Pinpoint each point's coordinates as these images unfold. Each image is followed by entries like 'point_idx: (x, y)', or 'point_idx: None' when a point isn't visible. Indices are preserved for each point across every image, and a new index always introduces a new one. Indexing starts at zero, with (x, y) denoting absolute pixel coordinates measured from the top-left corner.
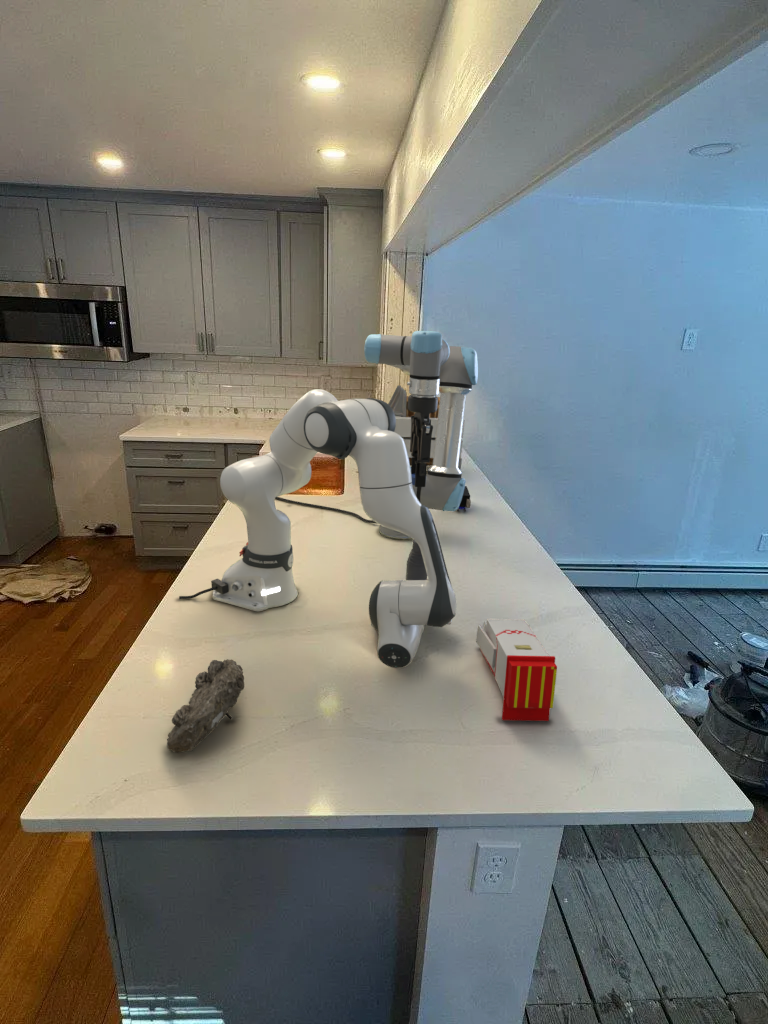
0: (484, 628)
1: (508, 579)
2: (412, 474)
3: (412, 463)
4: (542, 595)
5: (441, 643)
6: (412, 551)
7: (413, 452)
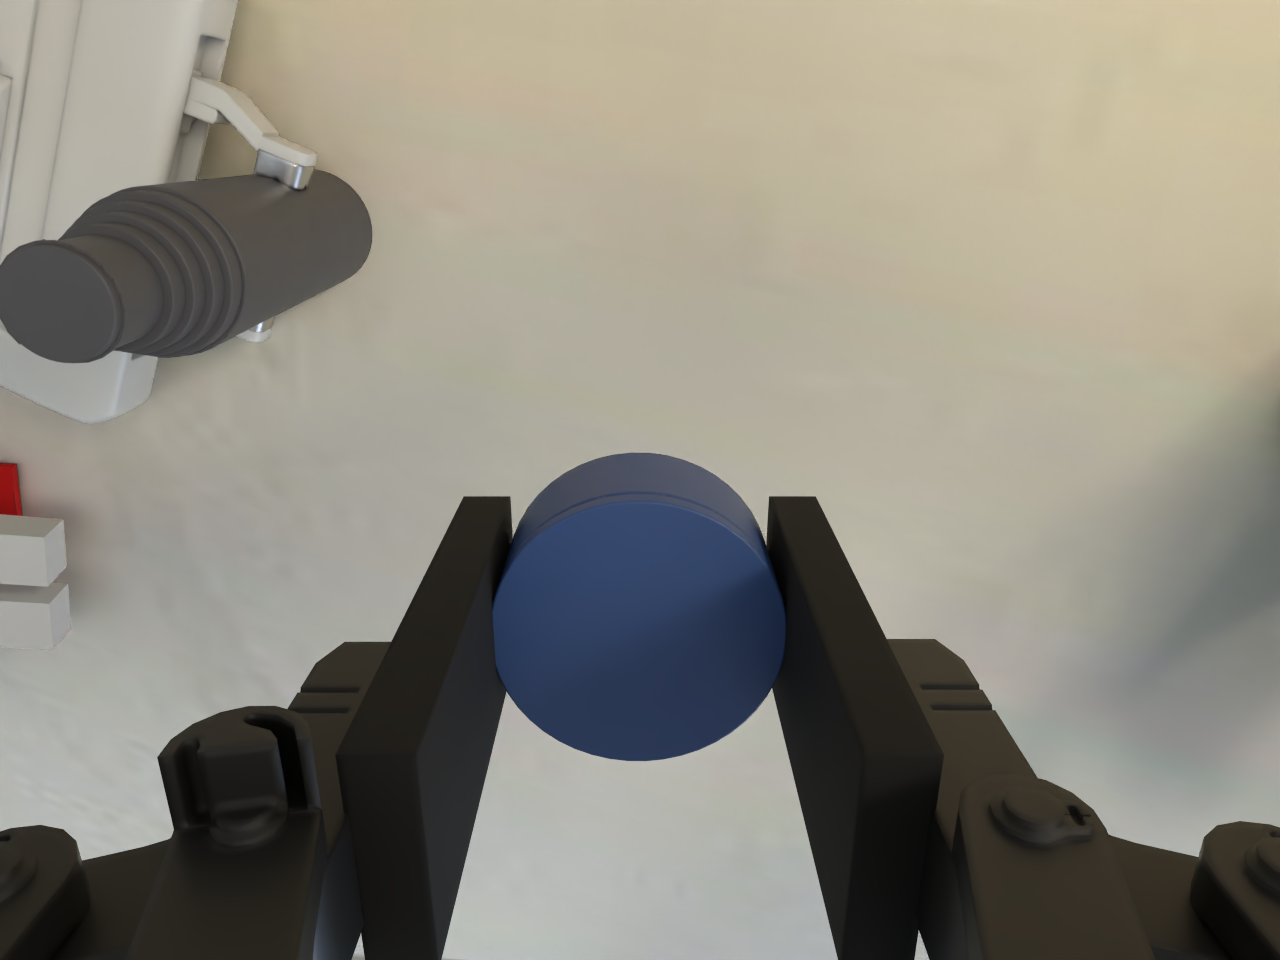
0: (33, 523)
1: (672, 785)
2: (726, 559)
3: (827, 674)
4: (505, 861)
5: None
6: (79, 231)
7: (971, 898)
